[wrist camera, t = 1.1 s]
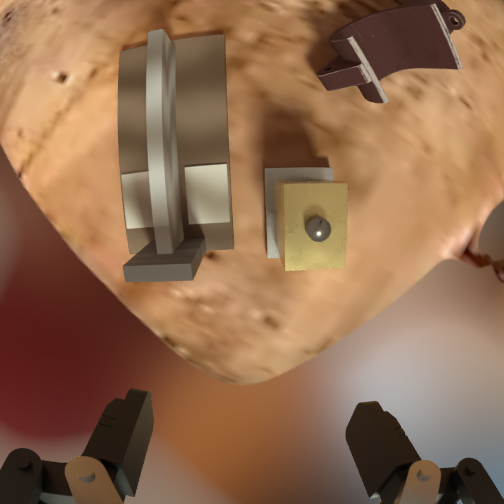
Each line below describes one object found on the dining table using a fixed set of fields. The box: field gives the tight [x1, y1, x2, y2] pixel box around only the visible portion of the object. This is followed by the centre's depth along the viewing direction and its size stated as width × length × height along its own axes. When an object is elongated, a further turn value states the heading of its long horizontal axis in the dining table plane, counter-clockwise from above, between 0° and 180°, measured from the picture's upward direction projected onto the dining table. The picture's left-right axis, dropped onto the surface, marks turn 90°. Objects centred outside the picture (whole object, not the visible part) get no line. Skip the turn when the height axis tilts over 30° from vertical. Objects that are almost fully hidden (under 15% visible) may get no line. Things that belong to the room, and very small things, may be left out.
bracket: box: [317, 0, 466, 103], centre depth 17 cm, size 6×17×10 cm, turn 136°
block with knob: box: [275, 179, 348, 271], centre depth 22 cm, size 6×4×7 cm
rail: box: [118, 29, 234, 282], centre depth 20 cm, size 20×10×8 cm, turn 2°
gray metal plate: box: [264, 167, 333, 258], centre depth 26 cm, size 8×6×1 cm
